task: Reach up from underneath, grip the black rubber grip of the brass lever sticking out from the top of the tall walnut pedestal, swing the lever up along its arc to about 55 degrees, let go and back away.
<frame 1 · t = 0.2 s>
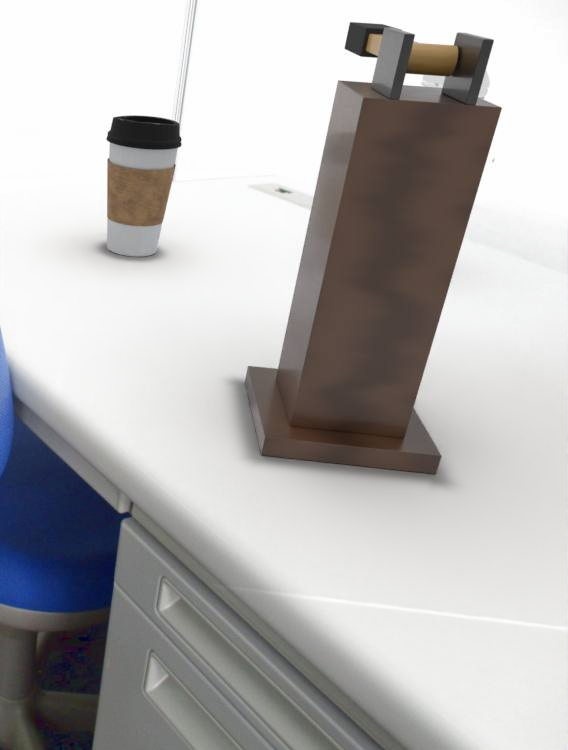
pedestal: (332, 424, 66), on the table
lever: (391, 47, 61), point 26 cm above the table, hinge at 0.0°
coffee cup: (131, 250, 103), on the table
water bottle: (406, 263, 105), on the table
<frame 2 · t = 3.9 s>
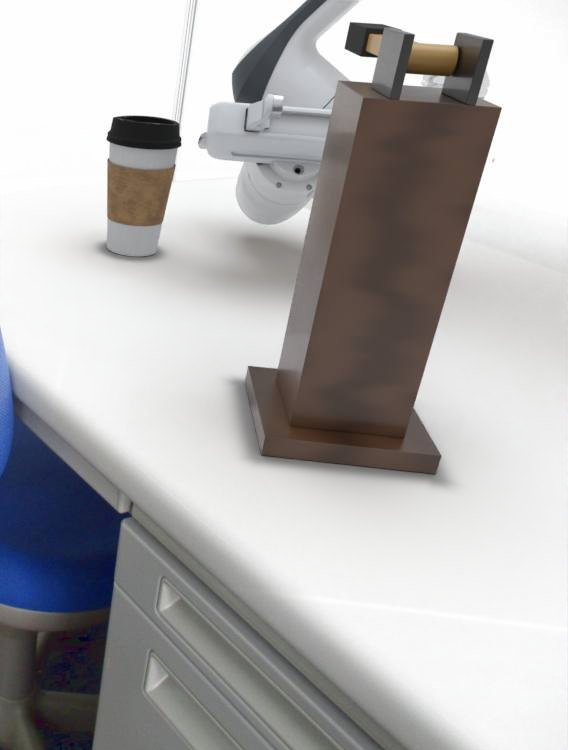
hand: (327, 106, 79), 20 cm above the table, tool pointing upward, fingers open, 8 cm apart
nothing on the table moved.
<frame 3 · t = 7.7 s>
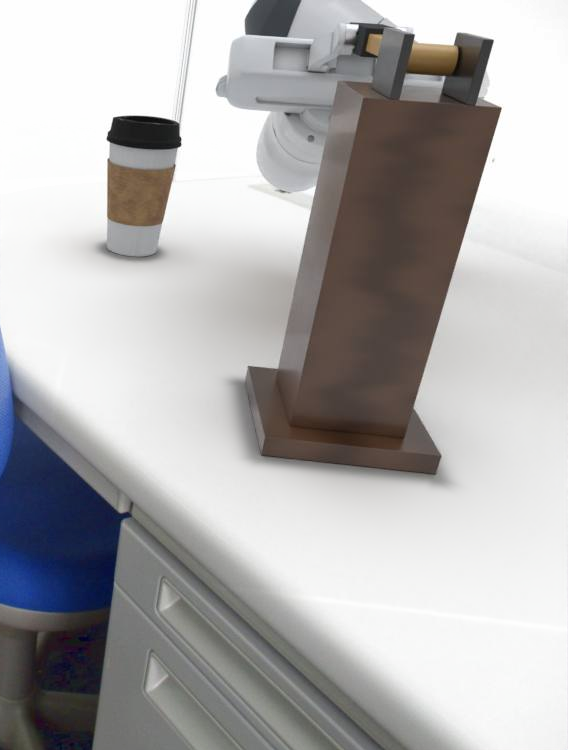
hand: (376, 34, 66), 26 cm above the table, tool pointing upward, fingers closed on lever, 3 cm apart
lever: (391, 47, 61), point 26 cm above the table, hinge at 0.0°, touching gripper
everything else where it was.
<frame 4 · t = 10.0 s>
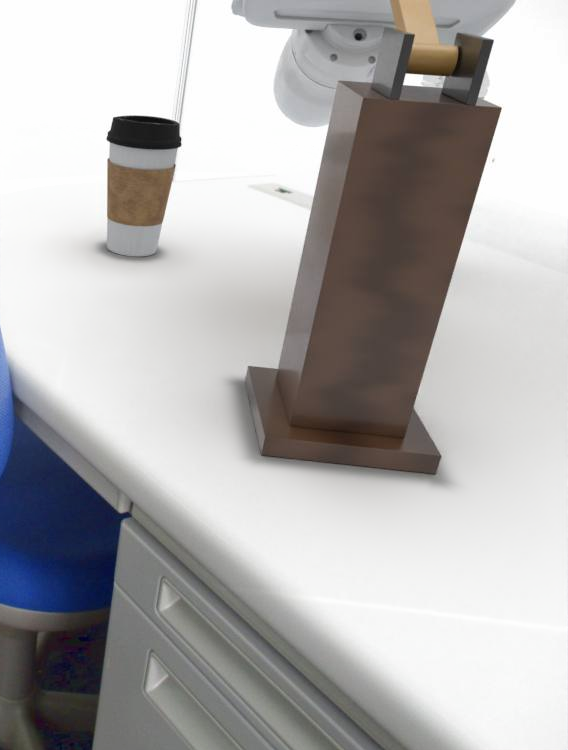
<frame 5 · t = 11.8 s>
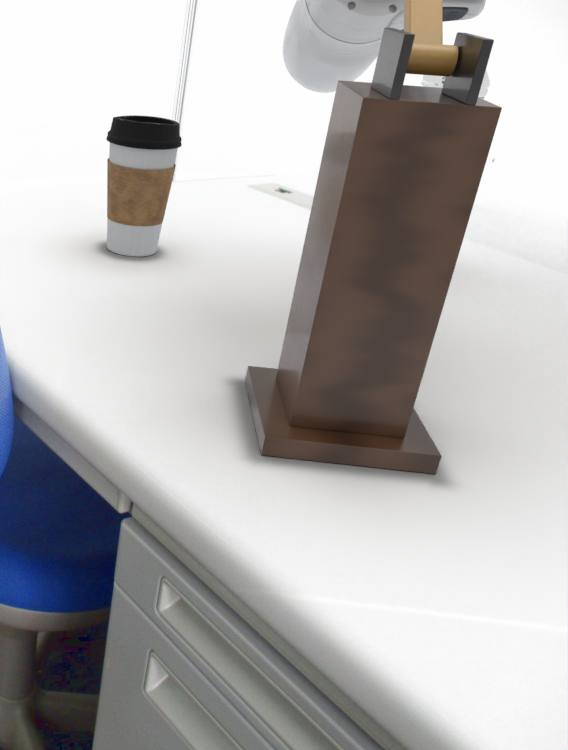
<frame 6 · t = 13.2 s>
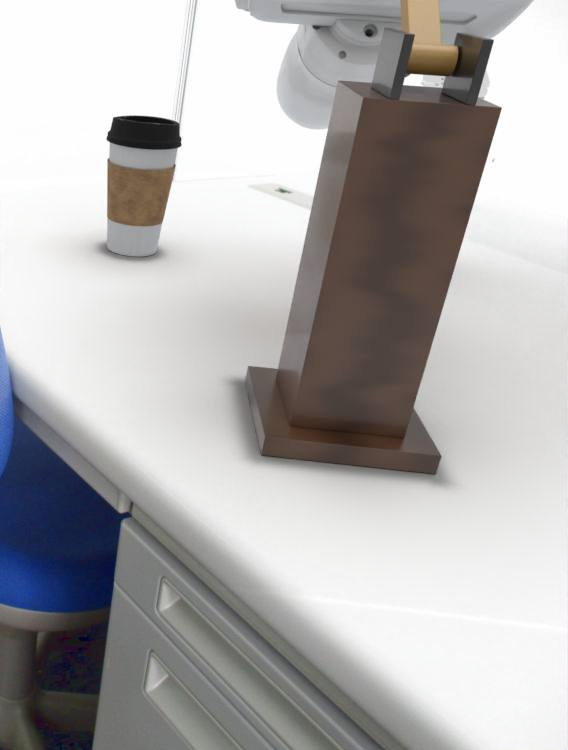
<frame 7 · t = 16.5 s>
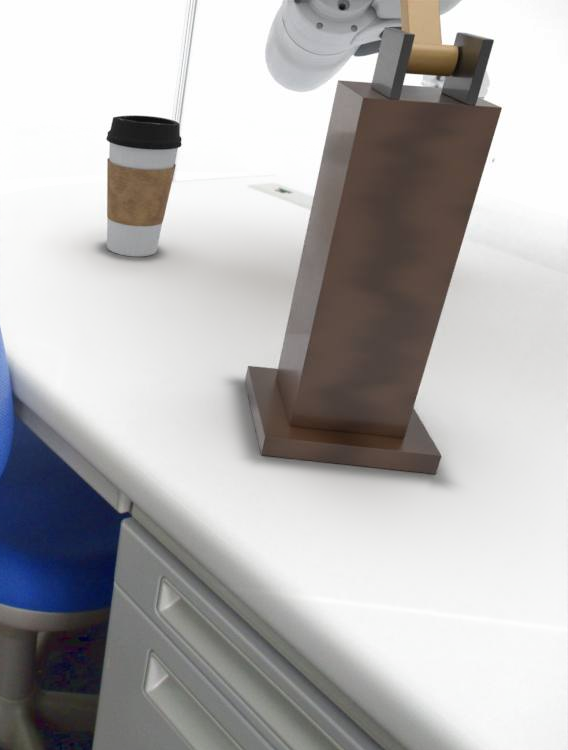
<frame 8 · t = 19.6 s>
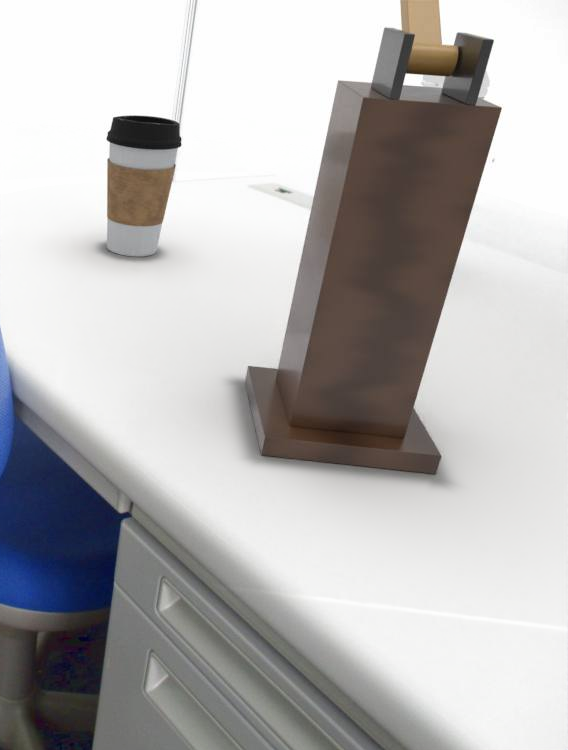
at the end: lever at +39° (first picture: +0°); the gripper is holding nothing; coffee cup moved 0.2 cm from its start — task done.
